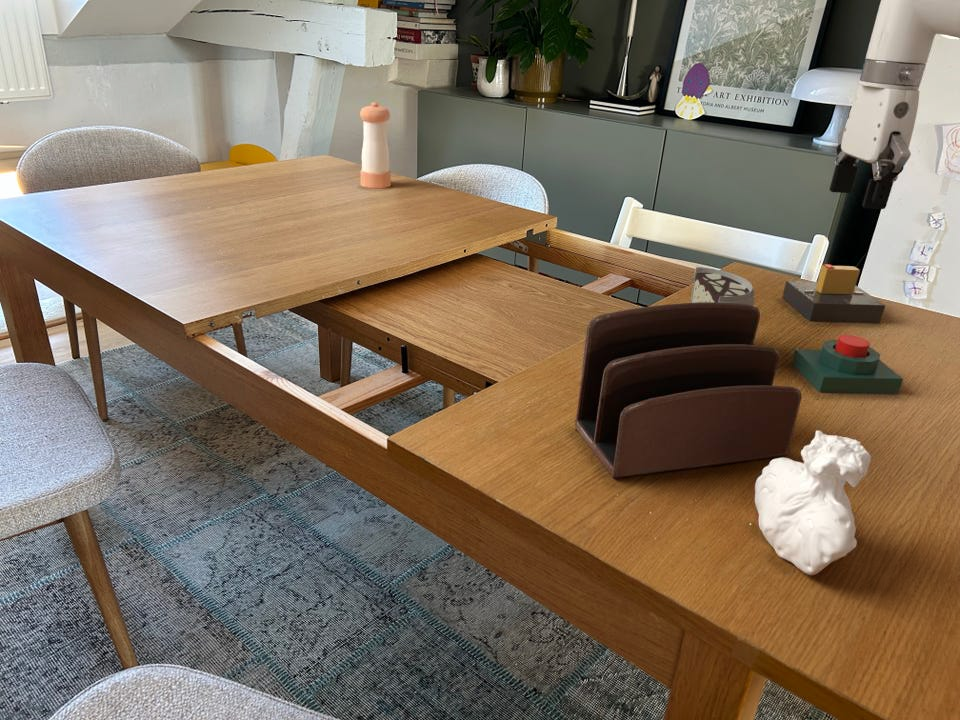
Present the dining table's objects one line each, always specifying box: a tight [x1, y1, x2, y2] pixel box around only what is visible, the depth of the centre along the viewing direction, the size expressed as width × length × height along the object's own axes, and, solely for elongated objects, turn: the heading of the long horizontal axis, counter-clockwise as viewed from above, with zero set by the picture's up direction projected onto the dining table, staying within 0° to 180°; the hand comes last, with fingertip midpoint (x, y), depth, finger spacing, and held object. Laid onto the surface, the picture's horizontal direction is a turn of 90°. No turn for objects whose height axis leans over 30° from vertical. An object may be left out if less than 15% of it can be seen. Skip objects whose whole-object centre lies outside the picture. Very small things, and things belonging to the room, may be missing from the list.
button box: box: [791, 339, 904, 395], centre depth 92 cm, size 10×8×4 cm
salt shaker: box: [359, 101, 392, 189], centre depth 175 cm, size 7×7×19 cm
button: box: [835, 334, 871, 358], centre depth 91 cm, size 4×4×2 cm
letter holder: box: [574, 302, 802, 479], centre depth 74 cm, size 10×20×14 cm, turn 106°
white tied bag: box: [754, 429, 872, 576], centre depth 61 cm, size 12×8×11 cm
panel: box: [781, 280, 886, 324], centre depth 115 cm, size 11×10×3 cm
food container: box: [690, 266, 755, 307], centre depth 96 cm, size 12×6×10 cm, turn 179°
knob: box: [816, 263, 861, 295], centre depth 113 cm, size 5×2×4 cm, turn 93°
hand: (855, 199), depth 108 cm, fingers open, 9 cm apart
